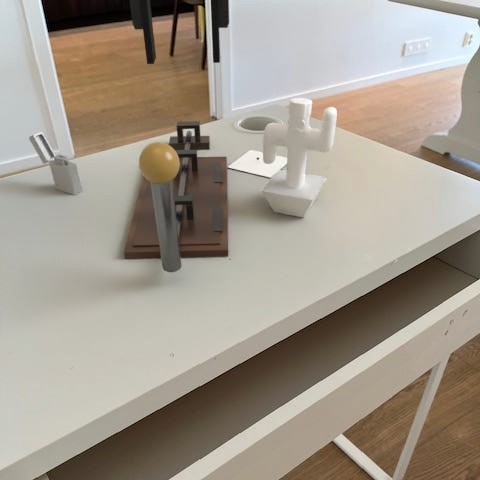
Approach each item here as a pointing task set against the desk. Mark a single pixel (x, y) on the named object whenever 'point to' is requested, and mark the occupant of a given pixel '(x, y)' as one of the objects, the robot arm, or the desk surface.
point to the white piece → (258, 164)
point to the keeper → (196, 140)
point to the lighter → (57, 165)
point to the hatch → (186, 212)
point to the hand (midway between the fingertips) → (184, 59)
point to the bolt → (166, 196)
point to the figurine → (296, 157)
